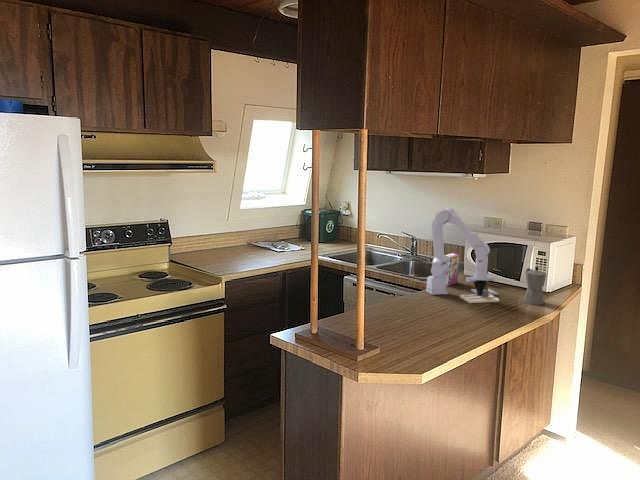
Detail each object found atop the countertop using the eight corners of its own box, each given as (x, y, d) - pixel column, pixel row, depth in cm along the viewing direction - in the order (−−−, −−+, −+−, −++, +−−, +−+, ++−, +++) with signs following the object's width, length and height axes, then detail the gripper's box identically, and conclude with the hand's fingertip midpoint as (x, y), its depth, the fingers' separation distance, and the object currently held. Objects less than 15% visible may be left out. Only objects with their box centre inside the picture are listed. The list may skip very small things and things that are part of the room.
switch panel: (469, 303, 254) (469, 299, 253) (459, 297, 263) (460, 293, 263) (499, 301, 257) (499, 298, 257) (488, 296, 267) (488, 292, 266)
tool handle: (482, 292, 271) (483, 281, 269) (479, 290, 274) (480, 279, 273) (489, 292, 271) (489, 281, 270) (486, 290, 274) (487, 279, 273)
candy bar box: (449, 286, 284) (451, 257, 281) (440, 284, 287) (442, 255, 284) (457, 282, 293) (459, 254, 290) (449, 281, 296) (451, 252, 293)
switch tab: (482, 297, 259) (483, 291, 258) (479, 295, 262) (480, 290, 261) (488, 297, 259) (488, 291, 259) (485, 295, 262) (485, 289, 262)
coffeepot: (550, 306, 252) (553, 269, 248) (531, 306, 250) (535, 269, 247) (533, 297, 267) (536, 262, 263) (515, 297, 265) (518, 262, 262)
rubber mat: (480, 295, 267) (480, 294, 267) (470, 290, 276) (471, 289, 276) (498, 295, 269) (498, 293, 269) (488, 289, 279) (488, 288, 278)
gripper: (471, 270, 252) (469, 298, 254) (498, 269, 255) (496, 296, 257) (464, 267, 259) (462, 294, 261) (491, 266, 262) (489, 292, 264)
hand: (479, 295), depth 260 cm, fingers closed
